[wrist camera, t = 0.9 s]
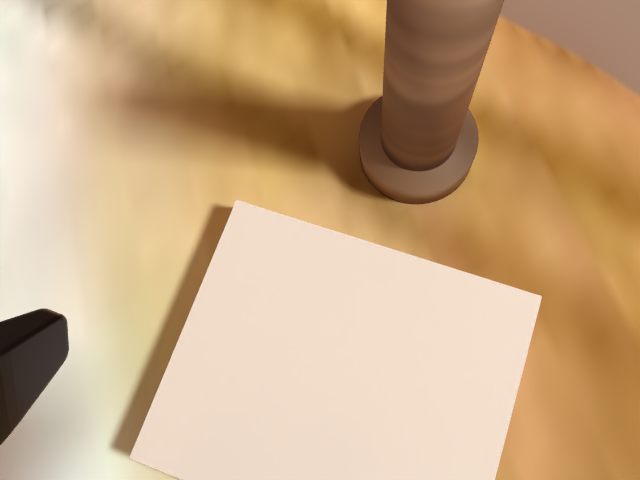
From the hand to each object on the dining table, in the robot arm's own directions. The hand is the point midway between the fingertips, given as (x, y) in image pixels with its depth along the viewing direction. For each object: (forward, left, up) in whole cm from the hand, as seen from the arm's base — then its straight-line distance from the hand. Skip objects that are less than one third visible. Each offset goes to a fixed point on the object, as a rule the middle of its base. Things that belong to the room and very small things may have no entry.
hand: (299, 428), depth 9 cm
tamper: (+10, +6, -14) cm, 18 cm away
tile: (+1, +1, -14) cm, 14 cm away
